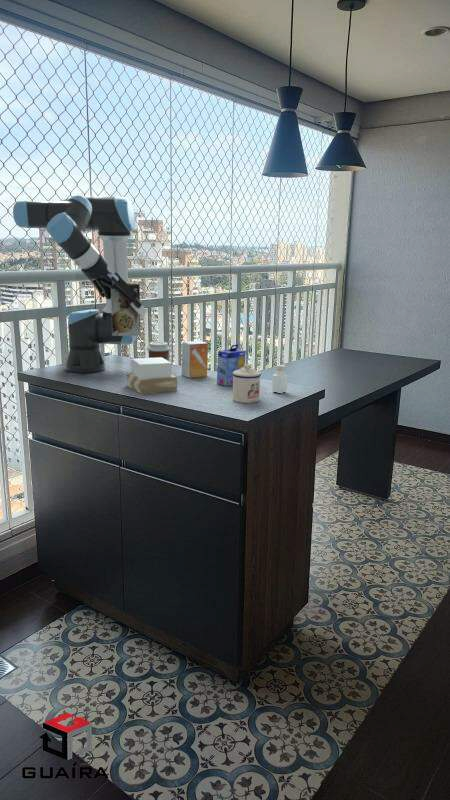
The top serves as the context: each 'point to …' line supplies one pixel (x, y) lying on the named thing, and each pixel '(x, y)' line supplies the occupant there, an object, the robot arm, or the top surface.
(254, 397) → the teacup with lid
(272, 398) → the top surface
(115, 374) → the top surface
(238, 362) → the blue upright box
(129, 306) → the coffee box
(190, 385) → the top surface
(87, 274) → the robot arm
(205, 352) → the small box
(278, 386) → the pepper shaker
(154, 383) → the tower base
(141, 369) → the tower top
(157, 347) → the coffee cup
